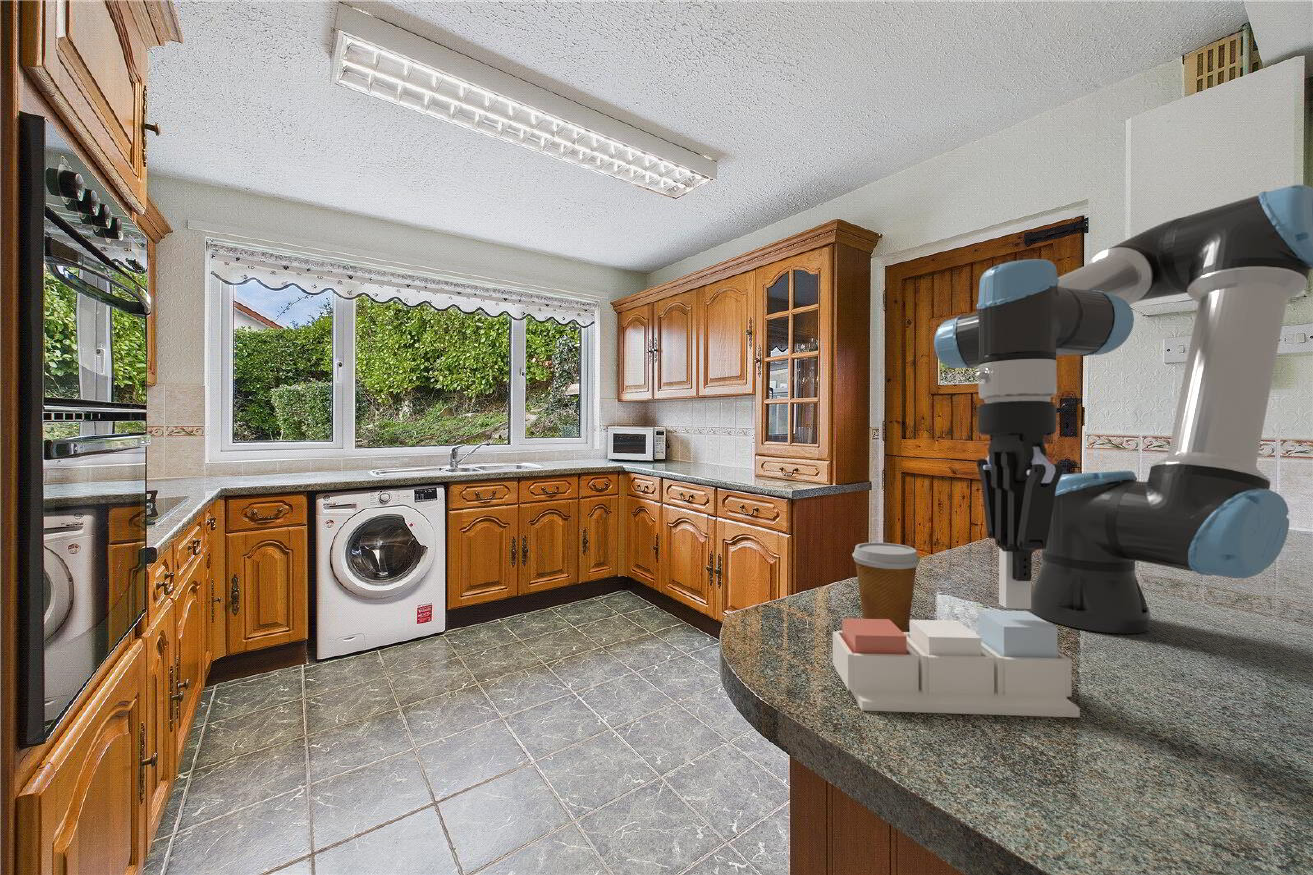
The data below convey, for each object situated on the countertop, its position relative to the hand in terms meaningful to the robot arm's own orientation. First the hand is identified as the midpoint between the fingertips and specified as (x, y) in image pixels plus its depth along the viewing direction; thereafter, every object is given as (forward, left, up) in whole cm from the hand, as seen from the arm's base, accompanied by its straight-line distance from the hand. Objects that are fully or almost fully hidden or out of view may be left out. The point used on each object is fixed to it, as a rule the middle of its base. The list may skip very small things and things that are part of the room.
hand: (1014, 606), depth 63 cm
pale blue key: (0, 0, -5) cm, 5 cm away
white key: (+8, 0, -7) cm, 10 cm away
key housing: (+8, 0, -10) cm, 12 cm away
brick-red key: (+16, 0, -7) cm, 17 cm away
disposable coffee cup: (+8, -20, -10) cm, 24 cm away
